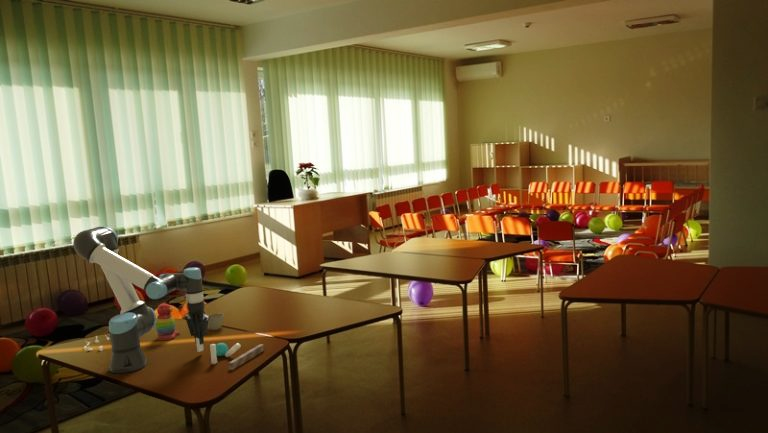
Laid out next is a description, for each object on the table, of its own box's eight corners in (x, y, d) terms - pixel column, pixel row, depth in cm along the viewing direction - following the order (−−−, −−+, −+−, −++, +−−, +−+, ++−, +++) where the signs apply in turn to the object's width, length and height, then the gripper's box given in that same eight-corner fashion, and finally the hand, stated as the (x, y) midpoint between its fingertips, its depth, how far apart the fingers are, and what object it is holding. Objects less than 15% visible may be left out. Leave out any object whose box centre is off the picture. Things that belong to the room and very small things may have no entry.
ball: (220, 343, 264) (210, 346, 266) (224, 356, 264) (213, 358, 265) (228, 340, 270) (218, 342, 271) (232, 352, 269) (221, 355, 271)
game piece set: (114, 336, 309) (113, 329, 308) (133, 343, 296) (132, 335, 296) (76, 348, 294) (75, 340, 293) (94, 355, 281) (93, 347, 281)
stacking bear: (173, 340, 296) (169, 306, 294) (153, 341, 296) (149, 307, 294) (181, 333, 306) (177, 300, 304) (162, 334, 307) (158, 301, 305)
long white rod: (232, 370, 249) (232, 363, 249) (229, 369, 250) (228, 362, 249) (264, 350, 271) (263, 344, 271) (260, 350, 272) (259, 344, 271)
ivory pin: (226, 358, 264) (238, 348, 261) (223, 353, 265) (235, 344, 261) (229, 356, 266) (241, 346, 263) (227, 351, 267) (238, 342, 264)
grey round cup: (204, 328, 313) (202, 315, 312) (223, 324, 317) (221, 312, 316) (206, 333, 304) (205, 319, 303) (226, 329, 308) (225, 316, 307)
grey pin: (215, 364, 257) (213, 345, 256) (210, 364, 258) (208, 345, 257) (218, 362, 259) (216, 344, 258) (214, 362, 260) (212, 343, 259)
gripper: (212, 299, 269) (217, 348, 272) (189, 298, 274) (194, 346, 277) (201, 304, 262) (206, 354, 265) (178, 302, 267) (183, 352, 270)
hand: (200, 350), depth 271 cm, fingers closed
